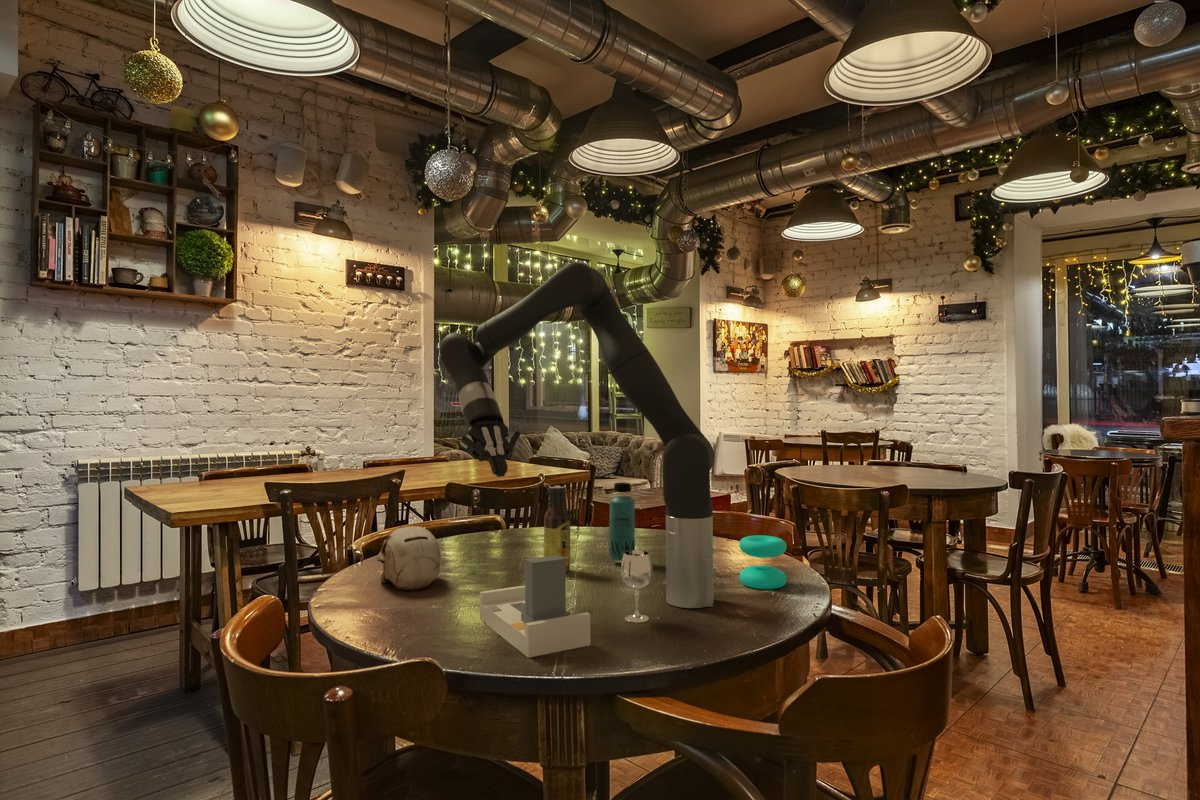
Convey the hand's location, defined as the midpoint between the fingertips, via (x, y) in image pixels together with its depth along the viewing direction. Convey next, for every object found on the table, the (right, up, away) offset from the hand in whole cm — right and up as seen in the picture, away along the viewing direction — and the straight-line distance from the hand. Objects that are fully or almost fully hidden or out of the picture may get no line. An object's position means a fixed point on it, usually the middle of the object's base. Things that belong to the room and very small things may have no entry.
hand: (501, 474), depth 133 cm
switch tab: (+10, -22, -20) cm, 31 cm away
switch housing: (+7, -26, -15) cm, 31 cm away
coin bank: (-23, -26, +18) cm, 40 cm away
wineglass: (+26, -26, -8) cm, 37 cm away
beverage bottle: (+25, -26, +35) cm, 50 cm away
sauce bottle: (+9, -26, +27) cm, 39 cm away
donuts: (+55, -26, +15) cm, 62 cm away
